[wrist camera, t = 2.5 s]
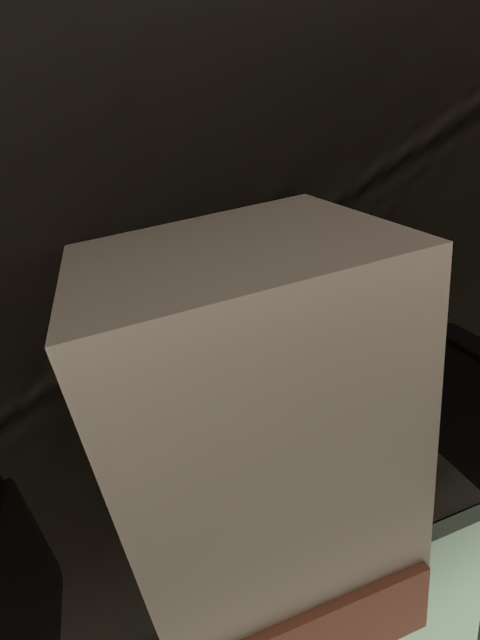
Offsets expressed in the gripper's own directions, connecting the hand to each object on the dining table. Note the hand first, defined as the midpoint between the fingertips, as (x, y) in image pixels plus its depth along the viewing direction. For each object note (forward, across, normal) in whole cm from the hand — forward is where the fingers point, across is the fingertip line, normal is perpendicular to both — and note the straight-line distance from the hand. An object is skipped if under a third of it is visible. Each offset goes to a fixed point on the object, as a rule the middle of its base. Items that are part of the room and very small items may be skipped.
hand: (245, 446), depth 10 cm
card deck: (+2, 0, 0) cm, 3 cm away
